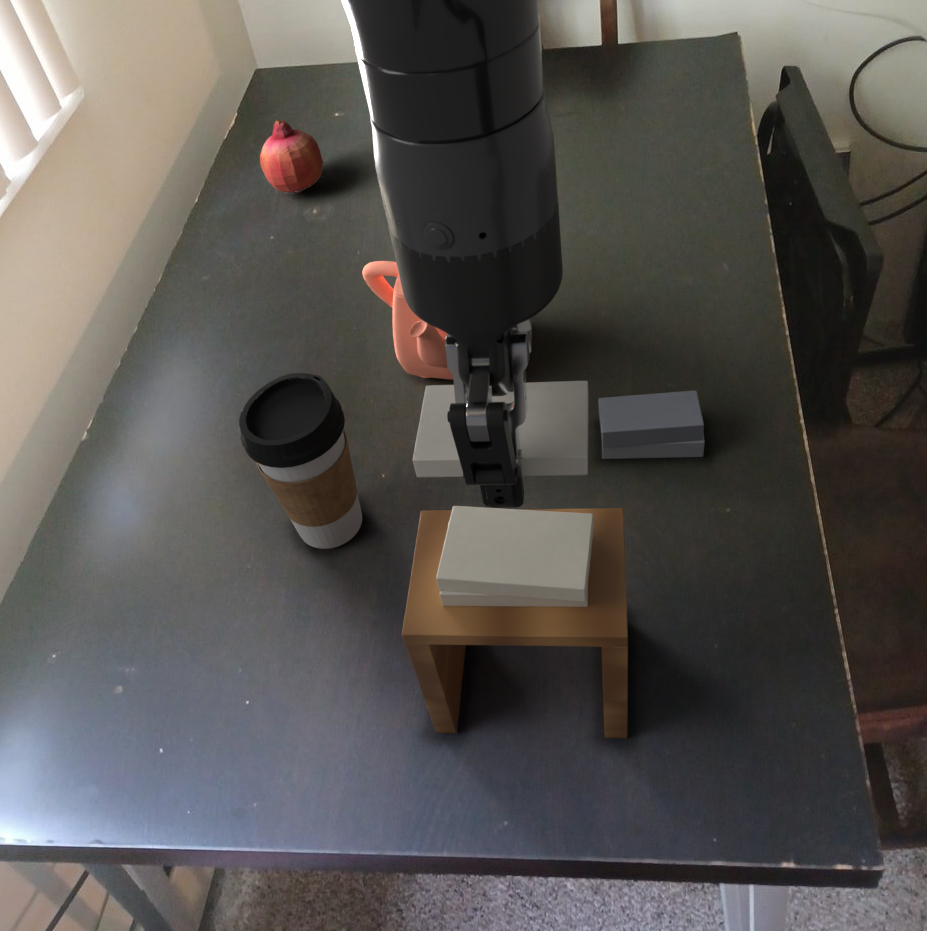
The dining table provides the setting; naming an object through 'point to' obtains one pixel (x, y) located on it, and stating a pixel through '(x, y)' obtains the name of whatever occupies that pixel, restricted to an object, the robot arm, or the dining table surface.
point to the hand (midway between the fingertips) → (508, 458)
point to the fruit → (290, 158)
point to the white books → (515, 558)
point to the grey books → (651, 426)
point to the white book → (540, 436)
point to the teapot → (409, 326)
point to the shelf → (517, 621)
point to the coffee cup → (304, 456)
